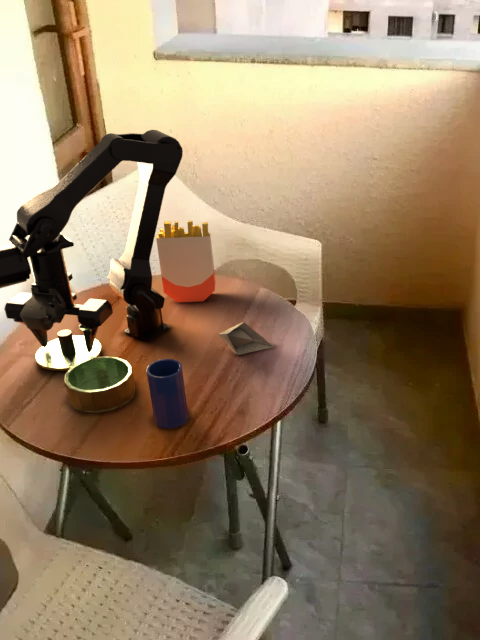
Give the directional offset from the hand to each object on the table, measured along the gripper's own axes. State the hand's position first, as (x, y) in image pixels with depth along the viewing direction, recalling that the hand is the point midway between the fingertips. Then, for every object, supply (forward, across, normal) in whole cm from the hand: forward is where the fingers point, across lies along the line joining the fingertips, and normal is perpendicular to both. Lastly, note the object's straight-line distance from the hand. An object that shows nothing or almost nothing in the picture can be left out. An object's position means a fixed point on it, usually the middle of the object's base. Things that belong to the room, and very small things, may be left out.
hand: (67, 348), depth 137 cm
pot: (+2, +12, -11) cm, 16 cm away
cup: (+2, +26, -15) cm, 30 cm away
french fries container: (+2, +14, +28) cm, 31 cm away
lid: (+1, 0, 0) cm, 1 cm away
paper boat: (+2, +32, +7) cm, 33 cm away
